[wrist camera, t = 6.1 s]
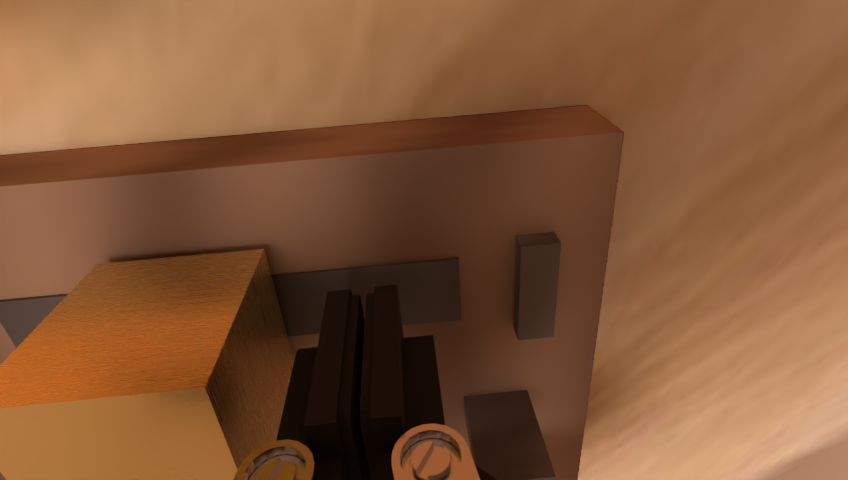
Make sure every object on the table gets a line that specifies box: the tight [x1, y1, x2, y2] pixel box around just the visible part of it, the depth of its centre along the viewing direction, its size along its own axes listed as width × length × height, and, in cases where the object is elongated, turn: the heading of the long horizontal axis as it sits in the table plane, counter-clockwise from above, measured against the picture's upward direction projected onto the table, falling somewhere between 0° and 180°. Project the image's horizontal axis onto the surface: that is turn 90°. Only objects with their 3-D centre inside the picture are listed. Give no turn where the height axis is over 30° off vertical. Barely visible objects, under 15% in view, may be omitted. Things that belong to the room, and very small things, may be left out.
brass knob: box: [0, 249, 294, 480], centre depth 11 cm, size 4×4×4 cm
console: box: [0, 105, 624, 480], centre depth 15 cm, size 22×15×6 cm
